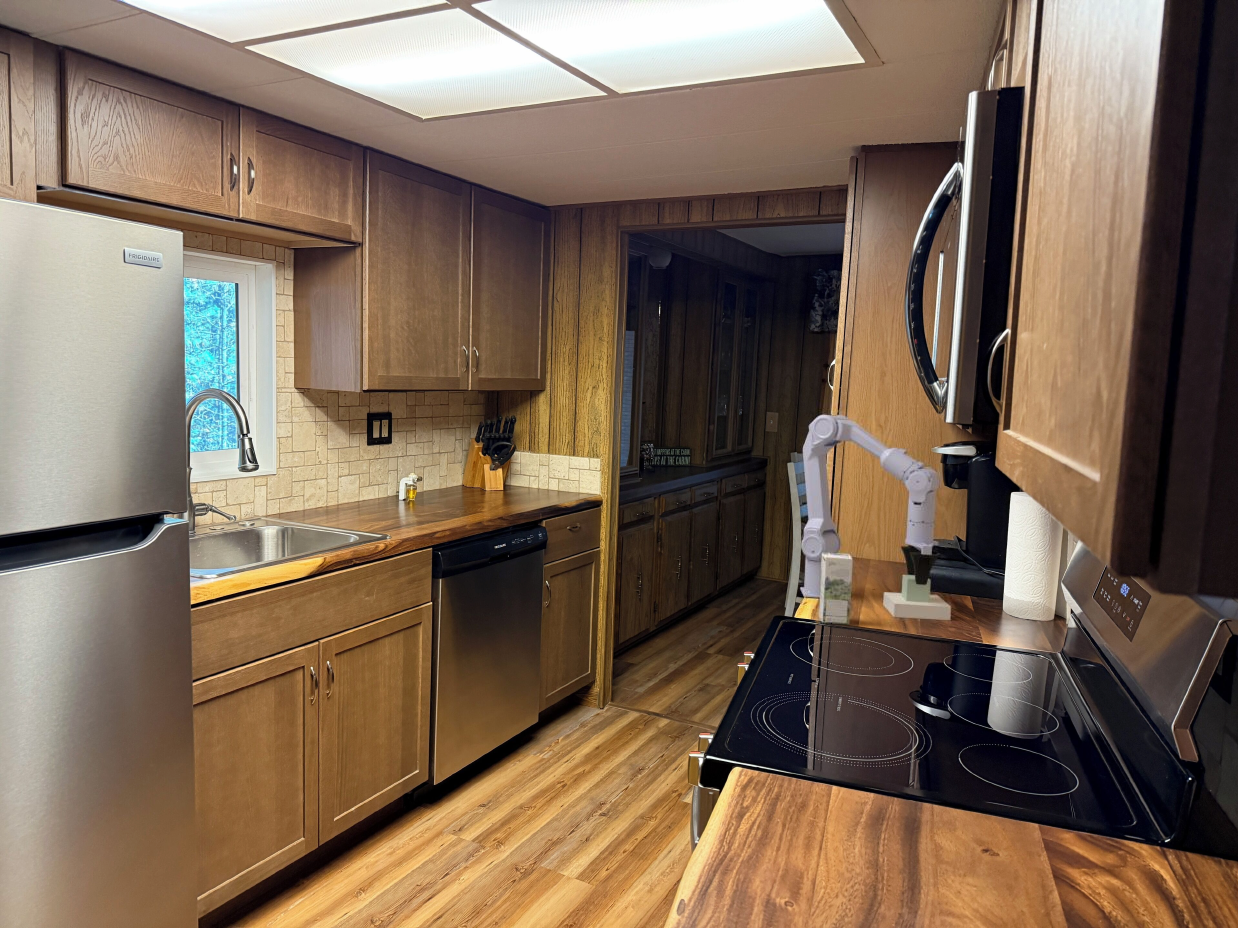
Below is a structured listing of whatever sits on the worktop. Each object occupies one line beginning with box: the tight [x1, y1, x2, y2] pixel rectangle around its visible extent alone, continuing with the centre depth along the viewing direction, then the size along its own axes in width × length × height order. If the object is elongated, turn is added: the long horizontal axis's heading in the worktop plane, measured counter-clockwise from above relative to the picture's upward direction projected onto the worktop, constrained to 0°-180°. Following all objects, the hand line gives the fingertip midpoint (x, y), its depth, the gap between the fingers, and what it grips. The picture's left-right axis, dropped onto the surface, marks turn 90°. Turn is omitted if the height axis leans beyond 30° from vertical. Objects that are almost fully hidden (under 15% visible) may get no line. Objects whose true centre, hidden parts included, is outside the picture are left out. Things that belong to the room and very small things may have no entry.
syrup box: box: [818, 552, 854, 625], centre depth 182 cm, size 6×6×14 cm
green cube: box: [901, 574, 931, 602], centre depth 193 cm, size 5×5×5 cm
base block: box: [882, 591, 952, 621], centre depth 193 cm, size 12×12×3 cm
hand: (917, 580), depth 193 cm, fingers open, 7 cm apart
